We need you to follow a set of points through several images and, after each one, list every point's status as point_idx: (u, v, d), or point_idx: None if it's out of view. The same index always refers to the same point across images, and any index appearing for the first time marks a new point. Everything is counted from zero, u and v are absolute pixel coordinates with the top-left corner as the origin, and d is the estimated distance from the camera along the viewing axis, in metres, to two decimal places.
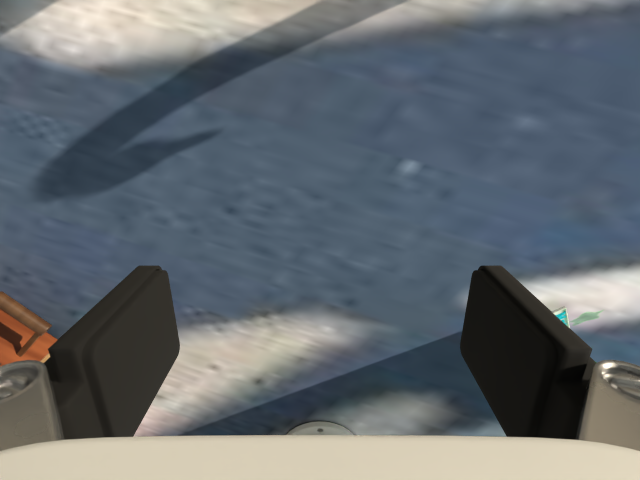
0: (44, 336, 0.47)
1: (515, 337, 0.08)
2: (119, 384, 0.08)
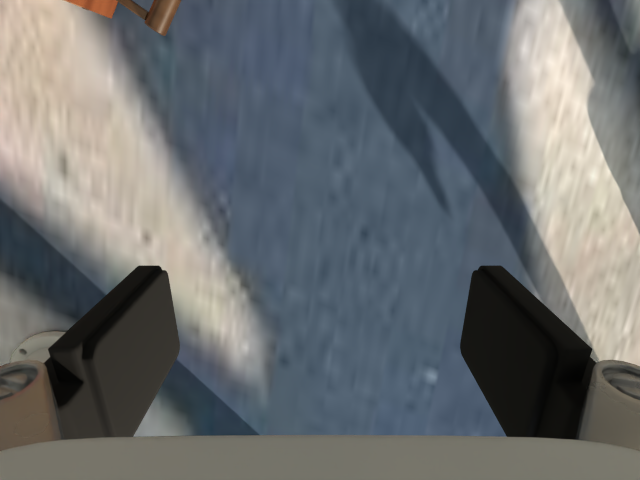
0: None
1: (515, 337, 0.08)
2: (119, 384, 0.08)
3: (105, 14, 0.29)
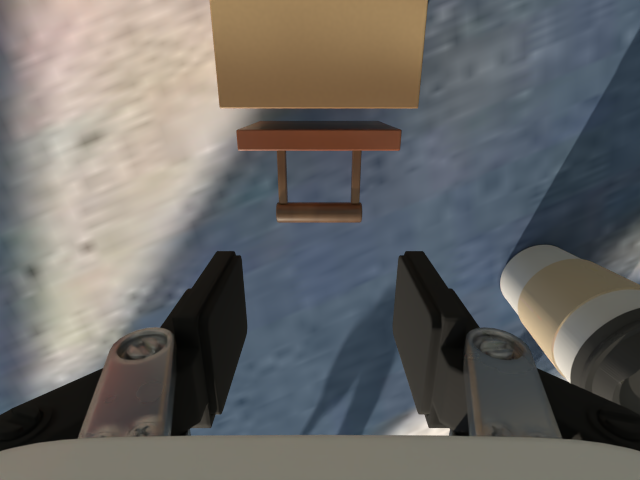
0: None
1: (418, 312, 0.09)
2: (219, 353, 0.09)
3: None
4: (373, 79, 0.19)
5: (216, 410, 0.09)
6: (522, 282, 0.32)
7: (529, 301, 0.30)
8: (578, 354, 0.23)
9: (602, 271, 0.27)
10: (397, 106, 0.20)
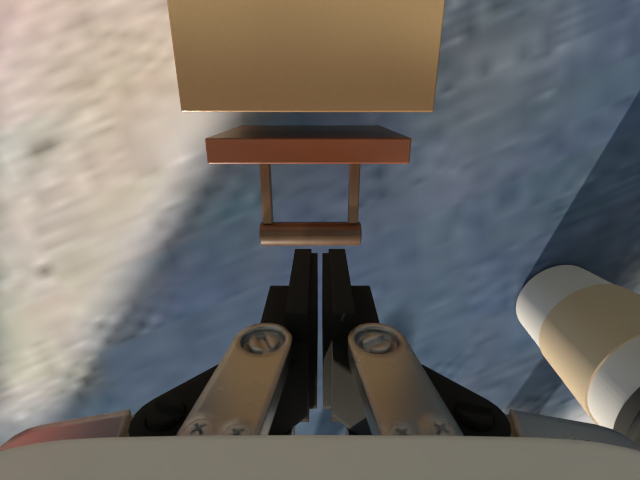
0: None
1: None
2: None
3: None
4: (377, 75, 0.15)
5: (314, 404, 0.09)
6: (544, 309, 0.28)
7: (554, 334, 0.26)
8: (623, 408, 0.19)
9: None
10: (407, 109, 0.16)
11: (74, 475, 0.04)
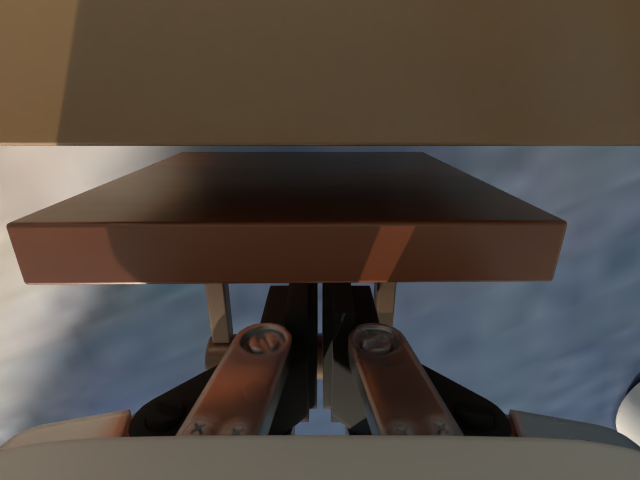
0: None
1: None
2: None
3: None
4: (522, 22, 0.04)
5: (314, 404, 0.09)
6: None
7: None
8: None
9: None
10: (605, 139, 0.05)
11: (74, 475, 0.04)
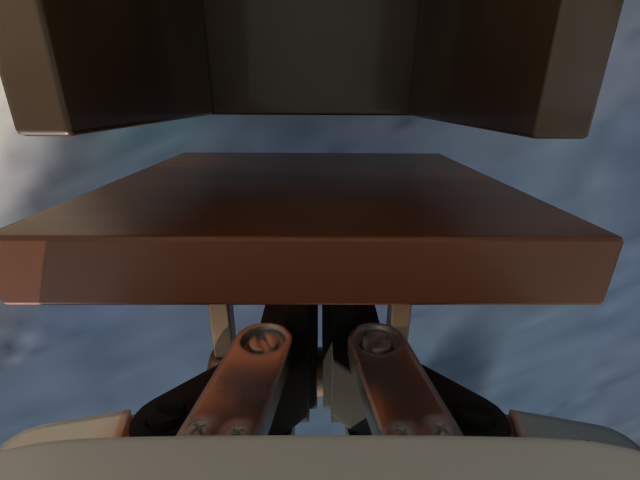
0: None
1: None
2: None
3: None
4: None
5: (314, 404, 0.09)
6: None
7: None
8: None
9: None
10: None
11: (74, 475, 0.04)
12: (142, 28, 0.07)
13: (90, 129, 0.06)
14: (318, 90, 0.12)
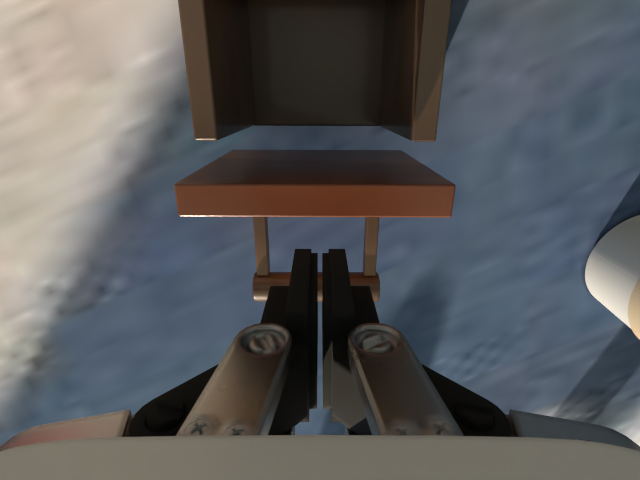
0: None
1: None
2: None
3: None
4: None
5: (314, 404, 0.09)
6: (636, 267, 0.20)
7: None
8: None
9: None
10: None
11: (74, 475, 0.04)
12: (232, 86, 0.14)
13: (220, 137, 0.13)
14: (321, 110, 0.19)
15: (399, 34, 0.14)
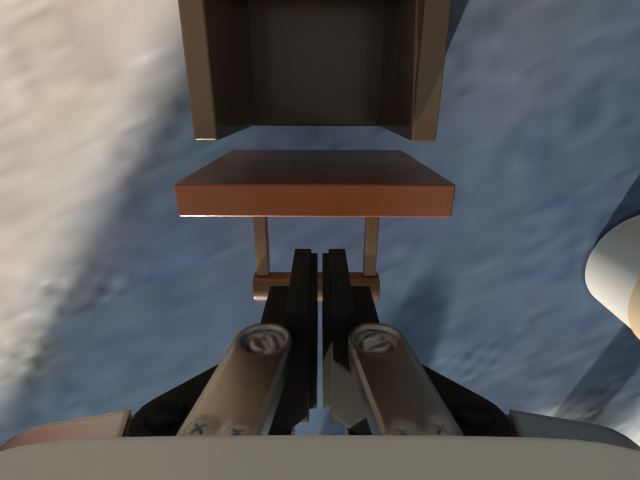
0: None
1: None
2: None
3: None
4: None
5: (314, 404, 0.09)
6: (636, 267, 0.20)
7: None
8: None
9: None
10: None
11: (74, 475, 0.04)
12: (232, 86, 0.14)
13: (220, 137, 0.13)
14: (321, 110, 0.19)
15: (399, 34, 0.14)
